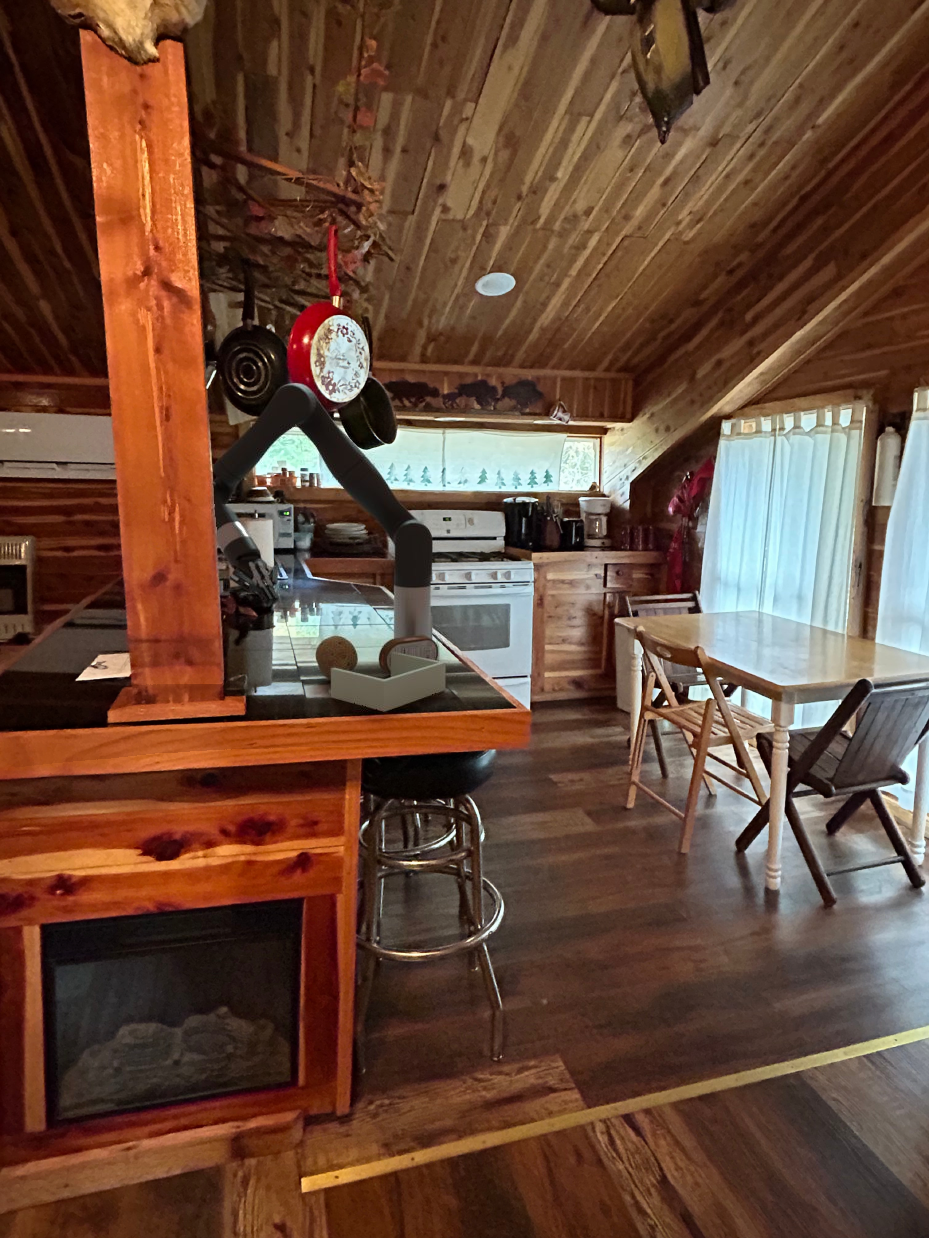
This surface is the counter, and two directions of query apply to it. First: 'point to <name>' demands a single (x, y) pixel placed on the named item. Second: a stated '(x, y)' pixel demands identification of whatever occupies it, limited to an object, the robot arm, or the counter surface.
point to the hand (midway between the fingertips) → (272, 602)
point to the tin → (407, 649)
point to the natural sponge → (336, 655)
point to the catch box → (390, 683)
